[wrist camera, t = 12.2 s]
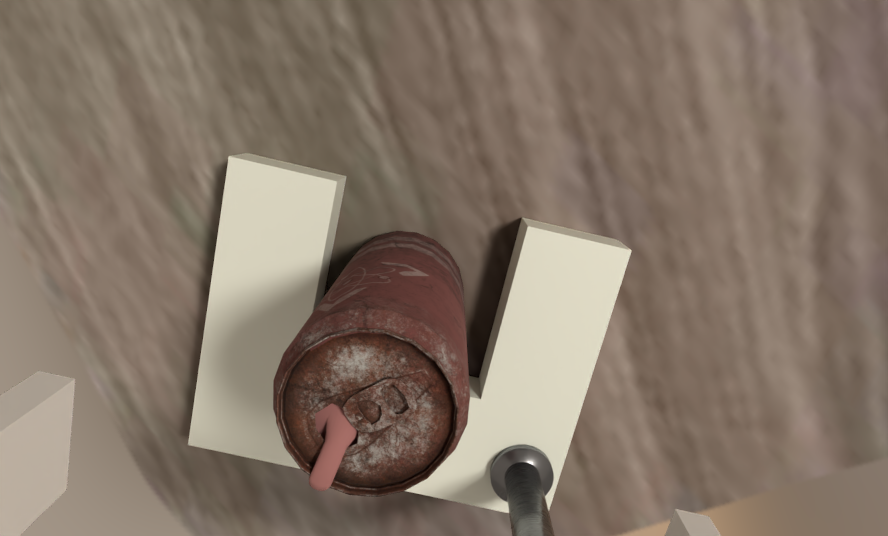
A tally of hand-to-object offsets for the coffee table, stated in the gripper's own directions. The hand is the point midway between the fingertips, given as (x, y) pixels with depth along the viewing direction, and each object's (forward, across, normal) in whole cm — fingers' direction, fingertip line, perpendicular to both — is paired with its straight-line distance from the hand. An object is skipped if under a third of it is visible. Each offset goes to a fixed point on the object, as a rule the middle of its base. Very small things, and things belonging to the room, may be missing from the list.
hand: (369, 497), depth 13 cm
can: (+19, -1, -1) cm, 19 cm away
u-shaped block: (+18, 0, -4) cm, 19 cm away
